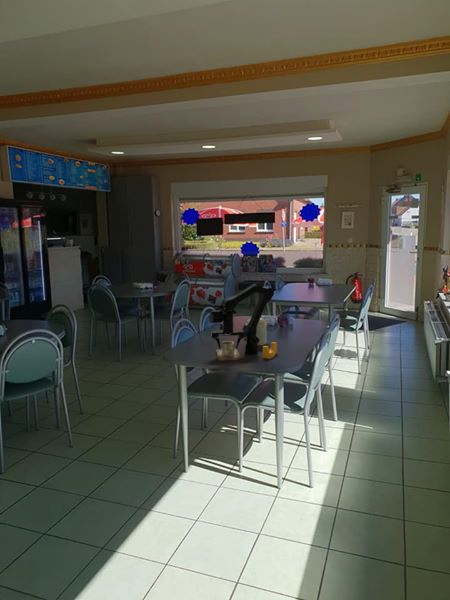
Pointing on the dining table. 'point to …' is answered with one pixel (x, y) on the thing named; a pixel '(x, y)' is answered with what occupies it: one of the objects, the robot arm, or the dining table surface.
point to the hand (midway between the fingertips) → (228, 349)
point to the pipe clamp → (272, 351)
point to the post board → (228, 357)
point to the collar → (228, 348)
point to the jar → (261, 331)
